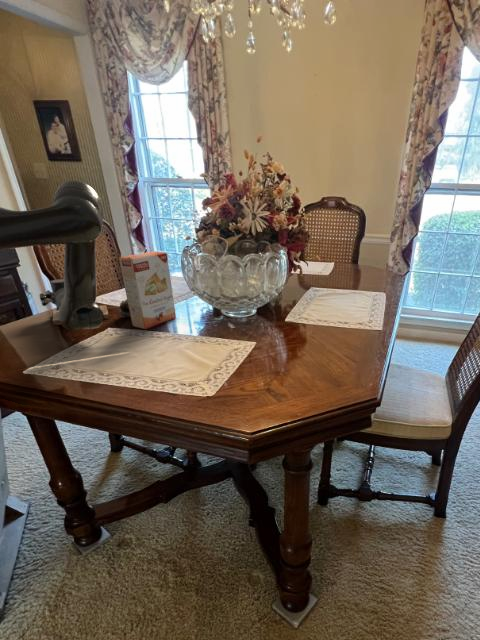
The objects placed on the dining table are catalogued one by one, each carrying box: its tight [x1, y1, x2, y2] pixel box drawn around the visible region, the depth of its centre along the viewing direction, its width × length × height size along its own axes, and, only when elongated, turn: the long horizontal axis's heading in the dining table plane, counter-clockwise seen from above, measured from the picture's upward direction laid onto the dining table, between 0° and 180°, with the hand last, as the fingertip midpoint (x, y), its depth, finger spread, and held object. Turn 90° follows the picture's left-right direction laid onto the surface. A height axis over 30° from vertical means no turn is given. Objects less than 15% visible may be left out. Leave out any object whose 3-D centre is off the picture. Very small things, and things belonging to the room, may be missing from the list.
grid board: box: [52, 304, 110, 326], centre depth 127 cm, size 16×12×2 cm
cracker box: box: [118, 251, 177, 330], centre depth 117 cm, size 14×6×21 cm, turn 154°
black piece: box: [49, 278, 65, 292], centre depth 125 cm, size 5×5×10 cm
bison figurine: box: [118, 298, 131, 318], centre depth 125 cm, size 12×7×10 cm, turn 76°
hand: (60, 292), depth 126 cm, fingers open, 6 cm apart
